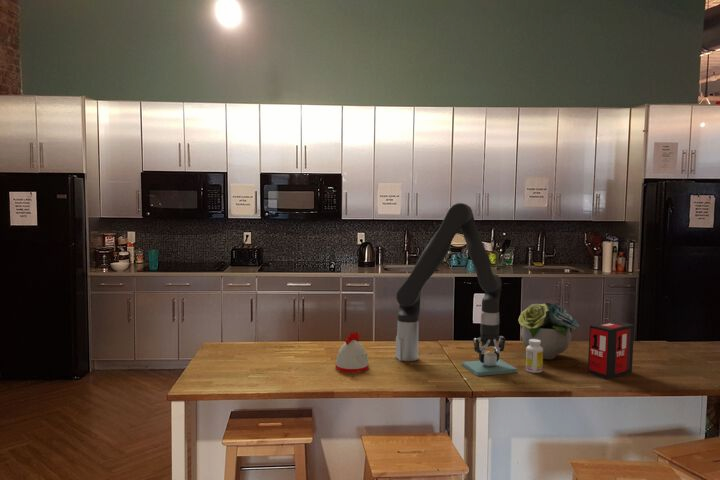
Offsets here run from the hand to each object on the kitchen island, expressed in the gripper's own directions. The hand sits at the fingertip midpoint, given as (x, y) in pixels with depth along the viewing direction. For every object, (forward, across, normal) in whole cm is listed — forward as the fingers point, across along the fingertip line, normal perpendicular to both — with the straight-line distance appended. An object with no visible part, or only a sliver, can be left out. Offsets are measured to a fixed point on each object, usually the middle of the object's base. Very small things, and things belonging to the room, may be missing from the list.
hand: (488, 361), depth 224 cm
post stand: (+3, 0, 0) cm, 3 cm away
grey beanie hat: (+3, +55, -16) cm, 57 cm away
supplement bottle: (+3, -17, +7) cm, 19 cm away
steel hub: (+1, 0, 0) cm, 1 cm away
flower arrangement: (+3, -33, -9) cm, 34 cm away
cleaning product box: (+3, -46, +17) cm, 49 cm away
